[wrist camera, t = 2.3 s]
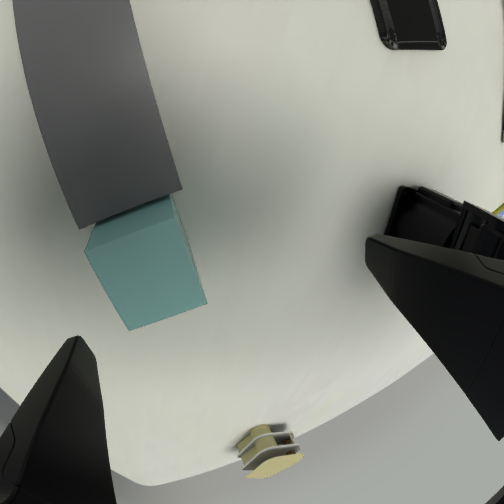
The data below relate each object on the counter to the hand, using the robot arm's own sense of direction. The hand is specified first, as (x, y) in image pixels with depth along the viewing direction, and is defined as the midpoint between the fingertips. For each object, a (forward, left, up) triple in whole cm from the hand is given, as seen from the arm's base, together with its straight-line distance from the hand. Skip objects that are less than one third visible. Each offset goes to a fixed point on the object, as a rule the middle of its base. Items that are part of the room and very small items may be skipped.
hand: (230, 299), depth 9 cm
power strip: (+8, +7, -12) cm, 17 cm away
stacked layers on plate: (-31, -12, -13) cm, 35 cm away
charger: (-2, +3, -12) cm, 12 cm away
